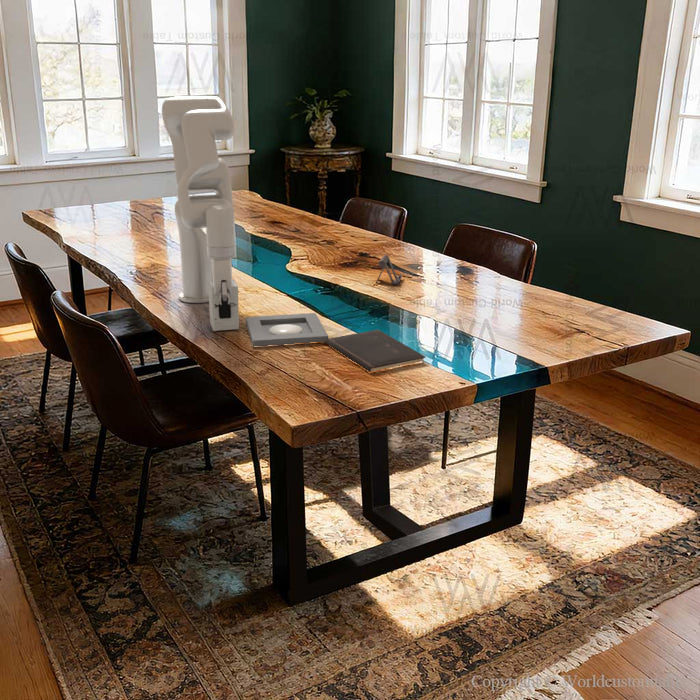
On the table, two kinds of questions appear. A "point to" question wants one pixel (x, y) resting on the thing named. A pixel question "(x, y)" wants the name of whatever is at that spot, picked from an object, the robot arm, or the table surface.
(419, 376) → the table surface
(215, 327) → the supplement box
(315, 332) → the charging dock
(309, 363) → the table surface
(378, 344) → the hardcover book
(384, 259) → the portable electronic device stand
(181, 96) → the robot arm
